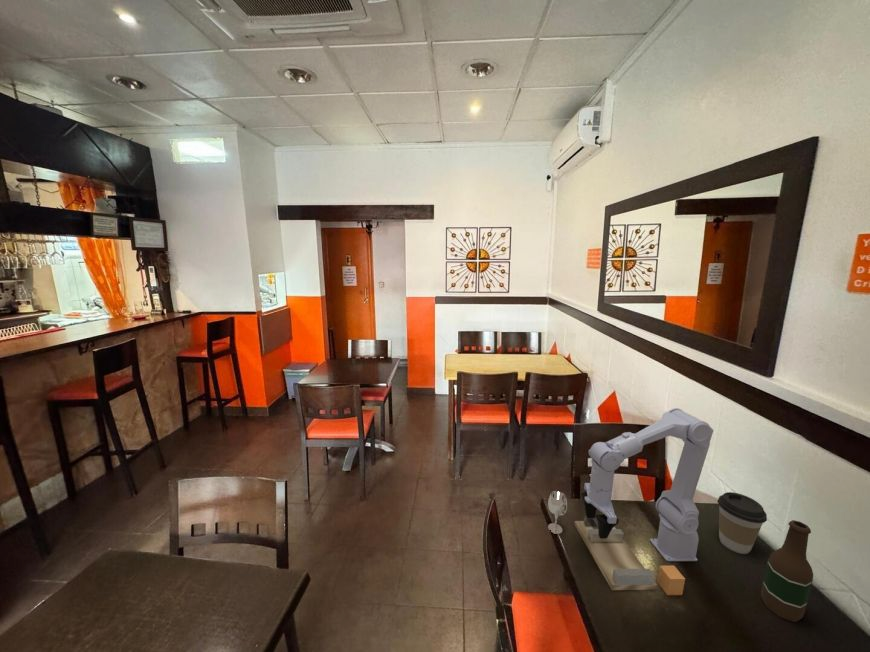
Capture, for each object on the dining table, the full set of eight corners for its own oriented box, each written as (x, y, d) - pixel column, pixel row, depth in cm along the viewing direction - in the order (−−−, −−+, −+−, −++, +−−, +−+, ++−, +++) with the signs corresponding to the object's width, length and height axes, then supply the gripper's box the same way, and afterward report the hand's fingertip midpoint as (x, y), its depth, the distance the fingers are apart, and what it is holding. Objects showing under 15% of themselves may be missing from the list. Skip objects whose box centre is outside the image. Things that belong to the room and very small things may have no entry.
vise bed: (609, 524, 113) (610, 520, 113) (656, 589, 91) (656, 584, 90) (574, 525, 113) (574, 521, 112) (612, 590, 90) (612, 585, 90)
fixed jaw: (648, 578, 92) (649, 568, 92) (653, 584, 90) (654, 575, 90) (612, 578, 92) (613, 568, 91) (616, 585, 90) (617, 575, 89)
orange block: (671, 581, 93) (674, 565, 92) (682, 595, 89) (685, 578, 88) (657, 581, 93) (659, 565, 92) (667, 595, 89) (670, 579, 88)
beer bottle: (751, 592, 90) (768, 512, 86) (781, 594, 90) (800, 513, 86) (779, 622, 83) (800, 536, 78) (812, 624, 82) (835, 537, 78)
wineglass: (561, 522, 114) (565, 490, 112) (566, 536, 108) (570, 502, 106) (544, 521, 114) (547, 489, 112) (548, 534, 108) (551, 500, 106)
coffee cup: (726, 527, 113) (734, 486, 111) (768, 554, 103) (778, 510, 100) (702, 535, 110) (709, 493, 107) (743, 564, 99) (752, 518, 96)
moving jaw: (609, 522, 112) (609, 515, 111) (623, 542, 104) (624, 534, 103) (579, 522, 112) (579, 515, 111) (590, 542, 104) (591, 534, 103)
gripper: (576, 469, 104) (572, 509, 106) (600, 502, 89) (595, 547, 92) (599, 469, 104) (594, 509, 106) (626, 502, 89) (620, 547, 92)
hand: (596, 527), depth 99 cm, fingers open, 7 cm apart
